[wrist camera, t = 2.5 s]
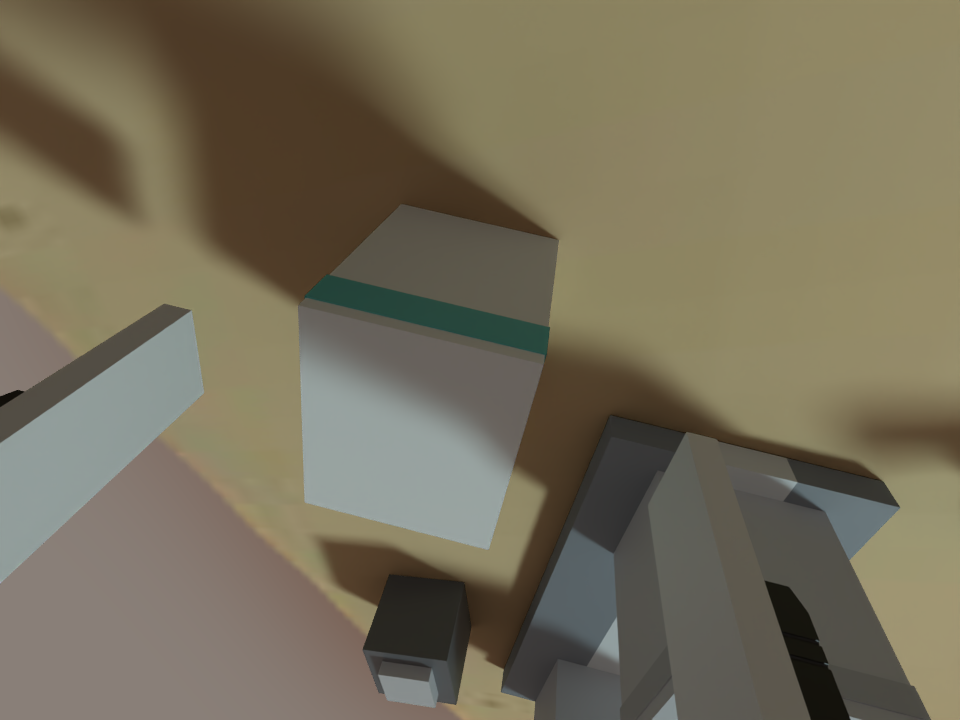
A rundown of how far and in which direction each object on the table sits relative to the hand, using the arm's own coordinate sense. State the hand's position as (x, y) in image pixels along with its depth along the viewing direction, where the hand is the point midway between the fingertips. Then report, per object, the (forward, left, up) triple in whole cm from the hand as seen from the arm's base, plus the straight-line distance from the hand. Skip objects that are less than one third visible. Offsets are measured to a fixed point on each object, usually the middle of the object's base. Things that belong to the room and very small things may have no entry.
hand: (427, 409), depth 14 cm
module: (-1, 0, -5) cm, 5 cm away
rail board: (+12, +11, -5) cm, 17 cm away
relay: (+17, +1, -5) cm, 18 cm away
